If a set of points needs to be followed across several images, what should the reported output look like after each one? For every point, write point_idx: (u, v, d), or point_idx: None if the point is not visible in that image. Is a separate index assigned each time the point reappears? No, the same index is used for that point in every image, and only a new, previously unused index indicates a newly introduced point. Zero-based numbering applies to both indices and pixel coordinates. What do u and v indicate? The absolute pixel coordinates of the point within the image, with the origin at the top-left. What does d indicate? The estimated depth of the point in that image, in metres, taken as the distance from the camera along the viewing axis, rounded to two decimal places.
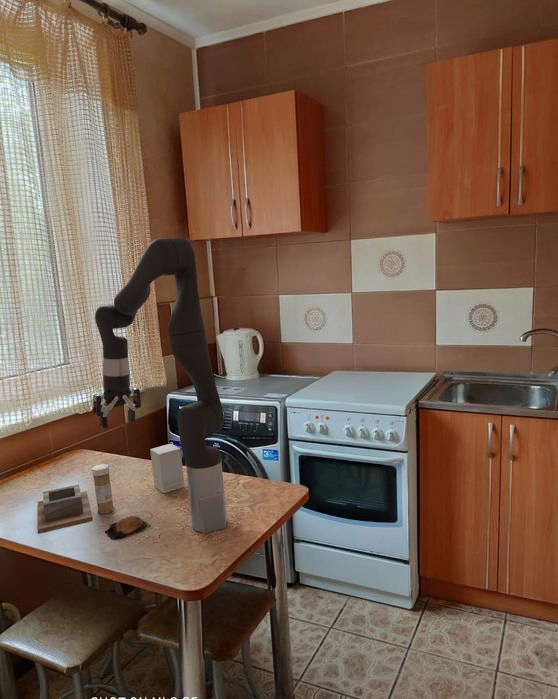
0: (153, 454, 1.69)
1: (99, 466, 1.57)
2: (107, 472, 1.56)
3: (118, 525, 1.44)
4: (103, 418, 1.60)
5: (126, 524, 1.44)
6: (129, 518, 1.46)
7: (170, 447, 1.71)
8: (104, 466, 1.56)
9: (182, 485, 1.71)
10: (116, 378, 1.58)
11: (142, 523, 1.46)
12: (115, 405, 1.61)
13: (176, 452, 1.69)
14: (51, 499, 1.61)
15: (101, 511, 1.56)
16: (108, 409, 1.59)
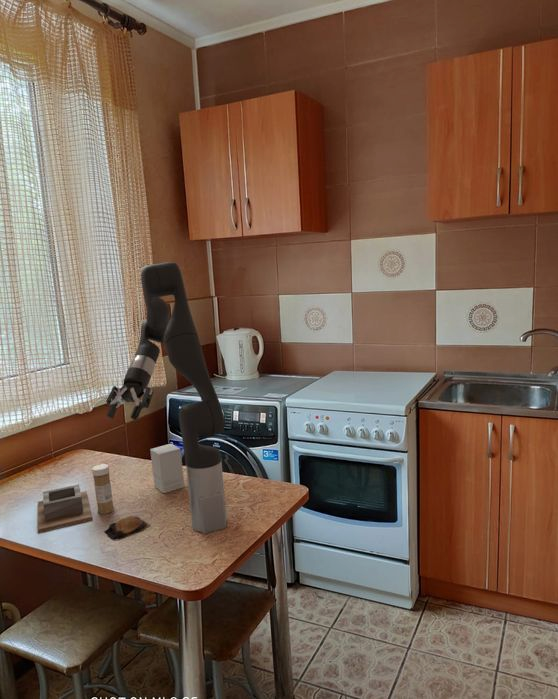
0: (153, 454, 1.69)
1: (99, 466, 1.57)
2: (107, 472, 1.56)
3: (118, 524, 1.44)
4: (110, 406, 1.68)
5: (126, 524, 1.44)
6: (128, 517, 1.46)
7: (170, 447, 1.71)
8: (104, 466, 1.56)
9: (182, 485, 1.71)
10: (128, 369, 1.71)
11: (142, 523, 1.47)
12: (124, 397, 1.68)
13: (176, 452, 1.69)
14: (51, 499, 1.61)
15: (101, 511, 1.56)
16: (116, 398, 1.69)
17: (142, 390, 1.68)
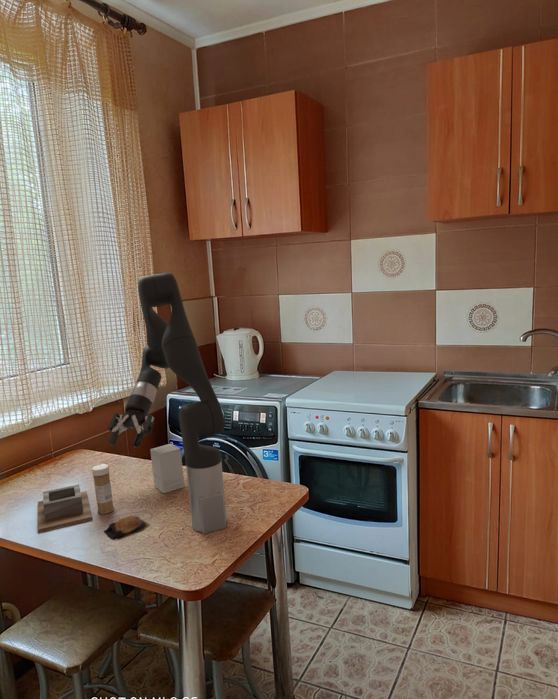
0: (153, 454, 1.69)
1: (99, 466, 1.57)
2: (107, 472, 1.56)
3: (117, 524, 1.45)
4: (112, 434, 1.69)
5: (126, 524, 1.44)
6: (128, 517, 1.46)
7: (170, 447, 1.71)
8: (104, 466, 1.56)
9: (182, 485, 1.71)
10: (130, 396, 1.72)
11: (141, 522, 1.47)
12: (125, 424, 1.69)
13: (176, 452, 1.69)
14: (51, 499, 1.61)
15: (101, 511, 1.56)
16: (117, 425, 1.69)
17: (144, 417, 1.69)
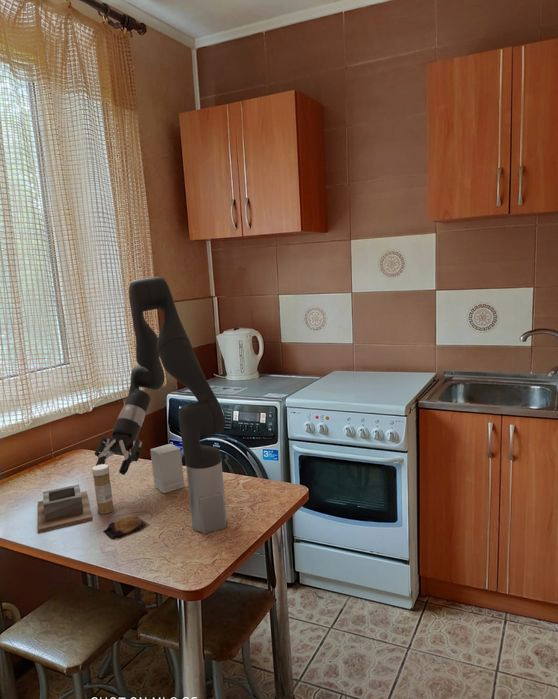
0: (153, 454, 1.69)
1: (99, 466, 1.57)
2: (107, 472, 1.56)
3: (117, 524, 1.45)
4: (99, 459, 1.63)
5: (125, 523, 1.44)
6: (127, 517, 1.46)
7: (170, 447, 1.71)
8: (104, 466, 1.56)
9: (182, 485, 1.71)
10: (117, 420, 1.66)
11: (141, 522, 1.47)
12: (112, 449, 1.63)
13: (176, 452, 1.69)
14: (51, 499, 1.61)
15: (101, 511, 1.56)
16: (104, 450, 1.64)
17: (131, 442, 1.63)
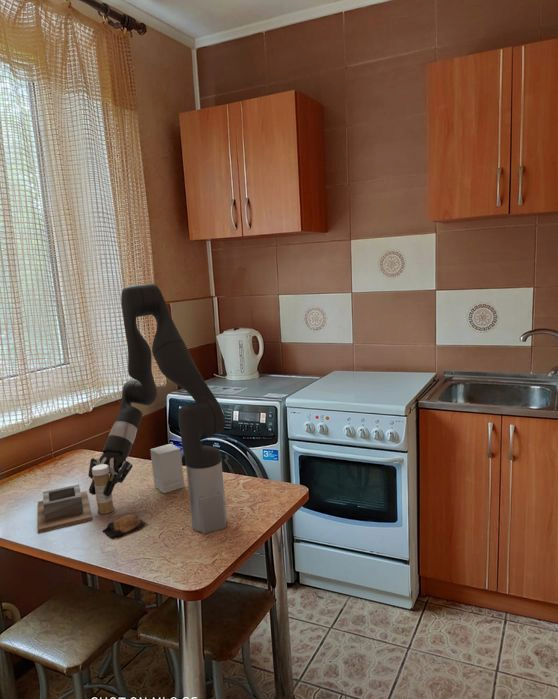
0: (153, 454, 1.69)
1: (99, 466, 1.57)
2: (107, 472, 1.56)
3: (116, 524, 1.45)
4: (93, 481, 1.58)
5: (124, 523, 1.44)
6: (126, 517, 1.47)
7: (170, 447, 1.71)
8: (104, 466, 1.56)
9: (182, 485, 1.71)
10: (108, 437, 1.62)
11: (140, 522, 1.47)
12: None
13: (176, 452, 1.69)
14: (51, 499, 1.61)
15: (101, 511, 1.56)
16: None
17: (122, 460, 1.59)
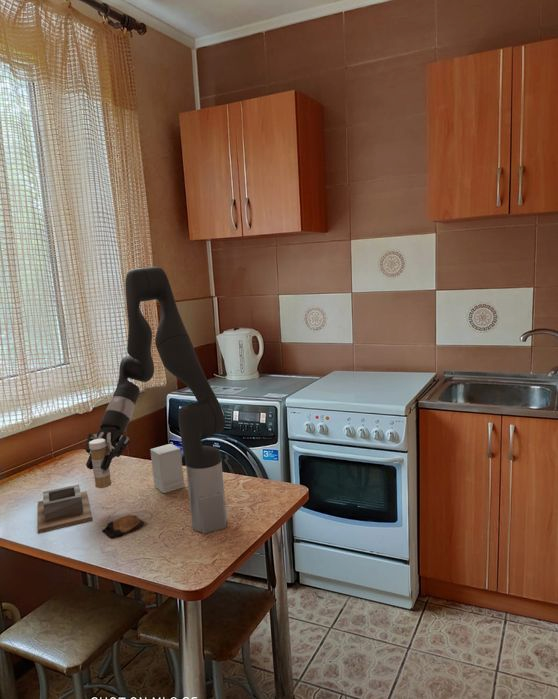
0: (153, 454, 1.69)
1: (96, 440, 1.56)
2: (104, 446, 1.55)
3: (116, 523, 1.45)
4: (90, 456, 1.57)
5: (124, 523, 1.45)
6: (126, 516, 1.47)
7: (170, 447, 1.71)
8: (101, 440, 1.55)
9: (182, 485, 1.71)
10: (105, 412, 1.61)
11: (139, 521, 1.47)
12: None
13: (176, 452, 1.69)
14: (51, 499, 1.61)
15: (98, 485, 1.55)
16: None
17: (120, 435, 1.58)
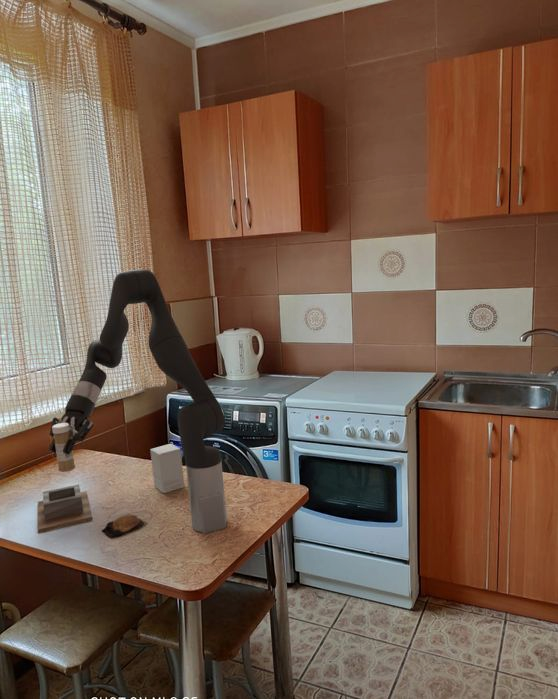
0: (153, 454, 1.69)
1: (59, 424, 1.56)
2: (67, 430, 1.56)
3: (115, 523, 1.45)
4: (53, 440, 1.58)
5: (123, 523, 1.45)
6: (125, 516, 1.47)
7: (170, 447, 1.71)
8: (64, 424, 1.56)
9: (182, 485, 1.71)
10: None
11: (139, 521, 1.48)
12: None
13: (176, 452, 1.69)
14: (51, 499, 1.61)
15: (61, 469, 1.56)
16: None
17: (83, 419, 1.59)
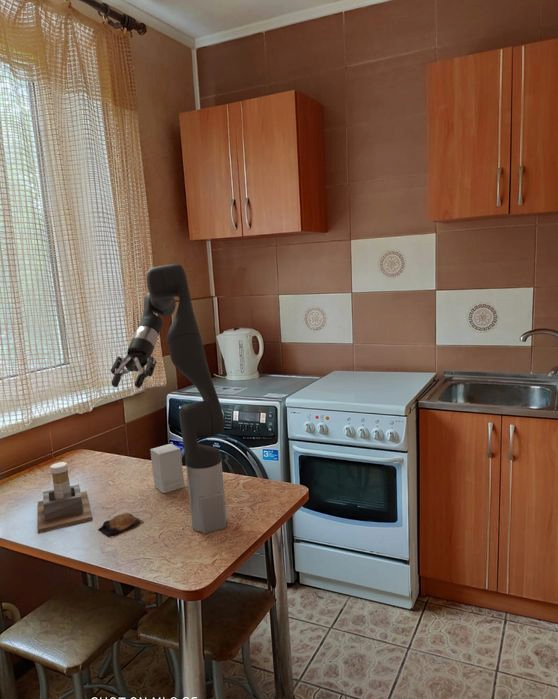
0: (153, 454, 1.69)
1: (58, 464, 1.58)
2: (65, 470, 1.57)
3: (112, 522, 1.46)
4: (115, 375, 1.72)
5: (120, 521, 1.46)
6: (122, 515, 1.48)
7: (170, 447, 1.71)
8: (62, 464, 1.58)
9: (182, 485, 1.71)
10: (132, 340, 1.76)
11: (135, 519, 1.49)
12: (128, 366, 1.72)
13: (176, 452, 1.69)
14: (51, 499, 1.61)
15: None
16: (120, 367, 1.73)
17: (145, 359, 1.72)
